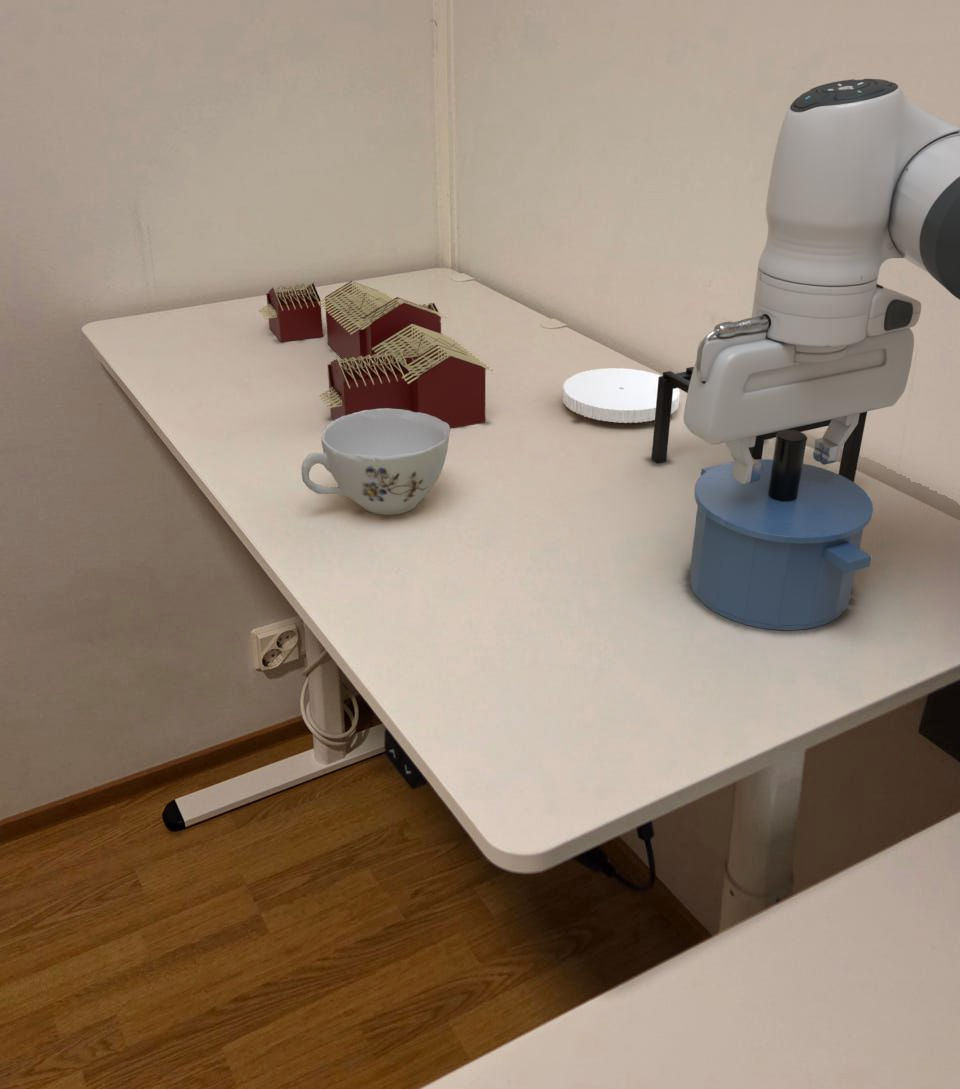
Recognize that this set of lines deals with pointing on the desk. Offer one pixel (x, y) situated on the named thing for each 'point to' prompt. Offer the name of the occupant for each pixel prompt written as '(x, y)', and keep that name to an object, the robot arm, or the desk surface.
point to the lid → (785, 498)
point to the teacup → (382, 458)
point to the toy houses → (383, 353)
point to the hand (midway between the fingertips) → (786, 470)
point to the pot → (772, 576)
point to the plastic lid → (615, 395)
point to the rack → (683, 382)
